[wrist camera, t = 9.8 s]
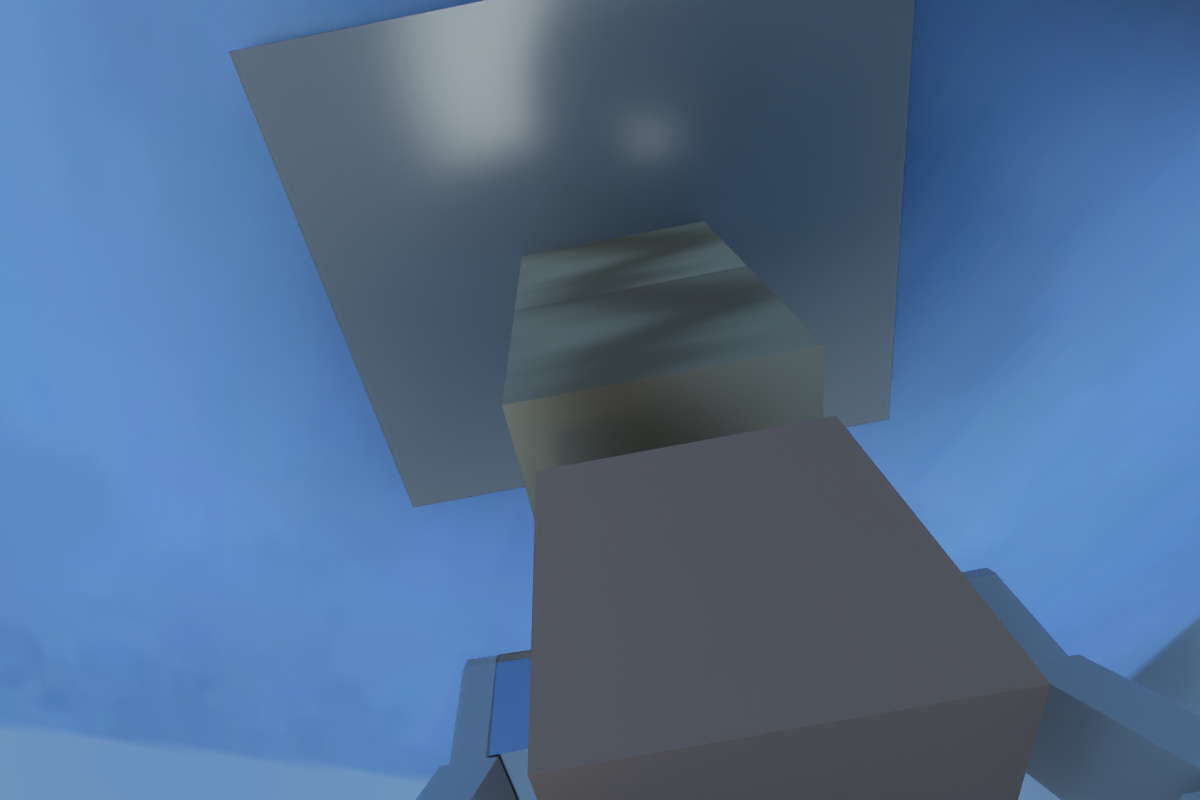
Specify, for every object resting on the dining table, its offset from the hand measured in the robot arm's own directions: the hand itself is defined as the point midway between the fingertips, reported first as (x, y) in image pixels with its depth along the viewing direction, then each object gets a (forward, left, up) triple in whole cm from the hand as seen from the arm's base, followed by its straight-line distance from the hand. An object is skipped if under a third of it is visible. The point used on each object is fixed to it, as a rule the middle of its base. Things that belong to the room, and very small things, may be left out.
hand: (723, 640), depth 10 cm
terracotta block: (0, 0, -2) cm, 2 cm away
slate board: (0, -2, -15) cm, 15 cm away
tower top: (0, 0, -9) cm, 9 cm away
